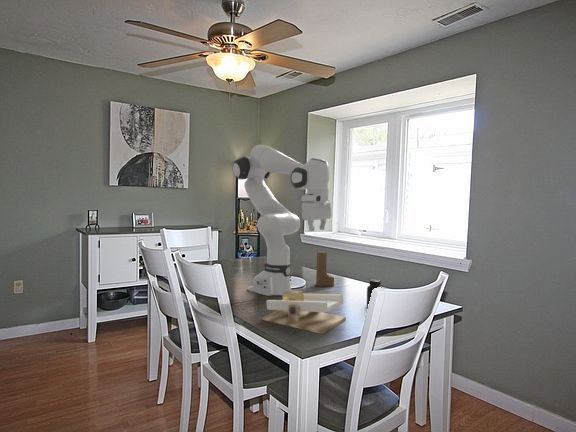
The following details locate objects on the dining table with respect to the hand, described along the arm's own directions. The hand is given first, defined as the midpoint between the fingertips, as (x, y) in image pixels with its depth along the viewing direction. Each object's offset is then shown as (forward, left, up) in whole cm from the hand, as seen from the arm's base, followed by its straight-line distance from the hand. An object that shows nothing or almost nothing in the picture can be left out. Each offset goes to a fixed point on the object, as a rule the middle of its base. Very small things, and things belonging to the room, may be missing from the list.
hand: (316, 230), depth 167 cm
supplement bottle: (+19, +20, -34) cm, 44 cm away
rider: (-2, -14, -28) cm, 31 cm away
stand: (+3, -14, -34) cm, 37 cm away
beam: (+3, -14, -28) cm, 31 cm away
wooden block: (-17, +43, -34) cm, 58 cm away
